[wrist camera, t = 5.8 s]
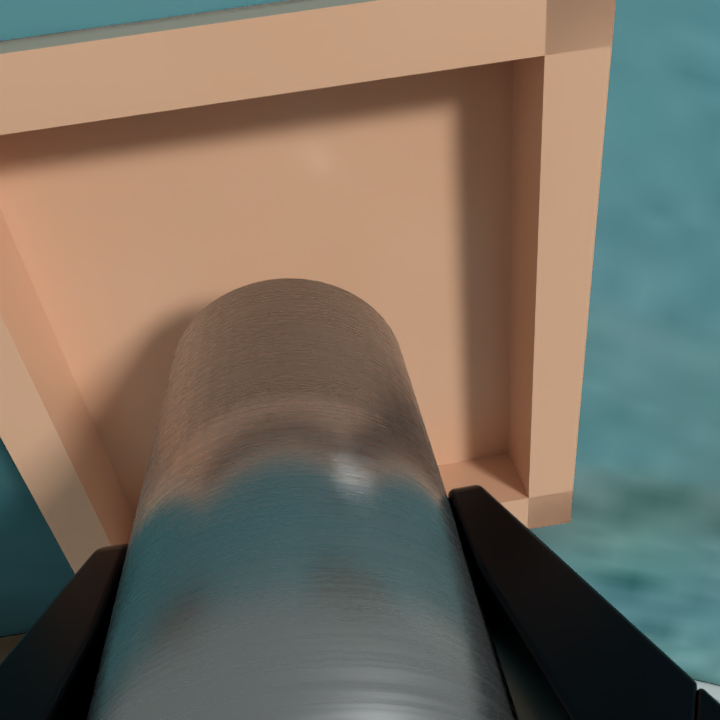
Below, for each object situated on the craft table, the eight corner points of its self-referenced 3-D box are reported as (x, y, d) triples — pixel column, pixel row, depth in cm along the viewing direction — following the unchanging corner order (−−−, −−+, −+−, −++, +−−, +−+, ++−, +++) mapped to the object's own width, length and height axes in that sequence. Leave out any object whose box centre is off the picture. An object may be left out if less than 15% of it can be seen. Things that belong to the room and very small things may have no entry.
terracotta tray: (112, 526, 17) (90, 603, 15) (-108, 56, 11) (-193, 81, 9) (535, 456, 17) (570, 521, 15) (557, -38, 11) (618, -34, 9)
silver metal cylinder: (203, 486, 12) (57, 1641, 4) (140, 299, 10) (-498, 2011, 2) (411, 451, 12) (702, 1497, 4) (393, 260, 10) (941, 1668, 2)
